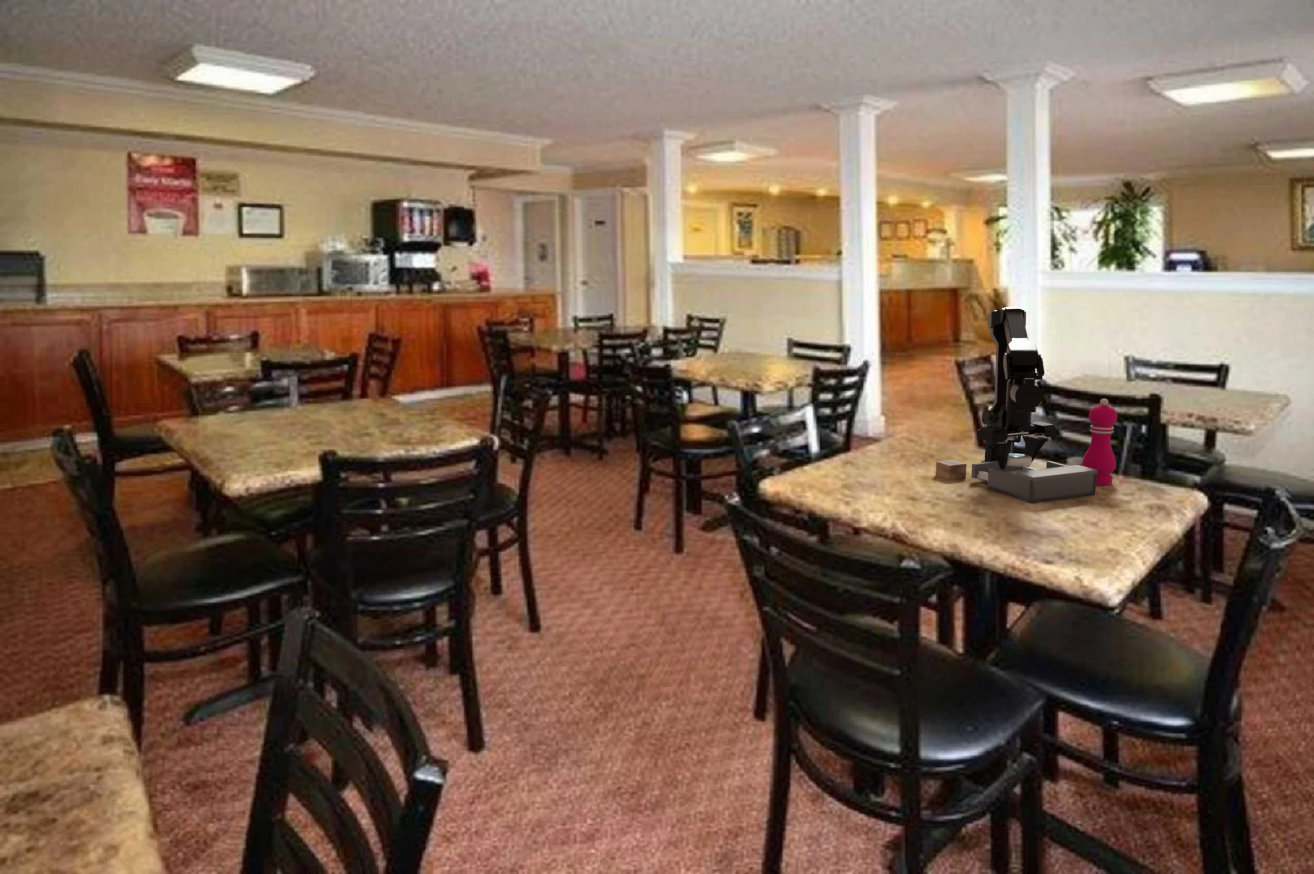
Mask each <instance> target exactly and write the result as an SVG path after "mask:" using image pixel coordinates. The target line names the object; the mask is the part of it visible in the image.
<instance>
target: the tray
mask: <svg viewBox="0 0 1314 874" xmlns="http://www.w3.org/2000/svg"><path fill="white" fill-rule="evenodd" d="M990 467H993V468H996V469H1000V467H999V464H998V461H992V462H982V463H981V462H976V463H975V462H974V463H971V478H972V479H981V480H984V481H987V482H988V470H989V468H990ZM1000 470H1002V469H1000ZM1029 470H1038V468H1034V467H1032V466H1031V467H1030V466H1029V467H1026V466H1023V467H1017V466H1008V465H1006V467H1005V469H1004V470H1003V471H1006V472H1010V473H1013V474H1015V472H1020V471H1029Z"/></svg>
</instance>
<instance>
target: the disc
mask: <svg viewBox="0 0 1314 874" xmlns="http://www.w3.org/2000/svg"><path fill="white" fill-rule="evenodd" d="M1031 462H1032V457H1031V456H1028V455H1025V453H1023V454H1022V453H1014V454H1013V453H1009V455H1008V459H1007V464H1006V465H1008V466H1017V467H1023V466H1029V467H1030V466H1032V463H1033V462H1032V463H1031Z"/></svg>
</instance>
